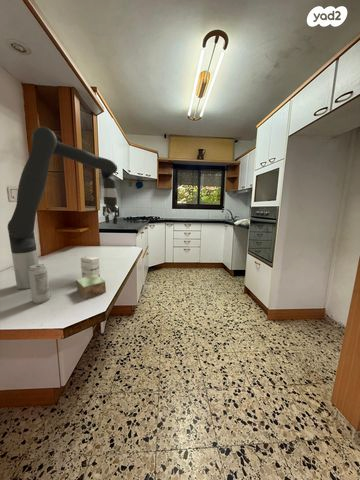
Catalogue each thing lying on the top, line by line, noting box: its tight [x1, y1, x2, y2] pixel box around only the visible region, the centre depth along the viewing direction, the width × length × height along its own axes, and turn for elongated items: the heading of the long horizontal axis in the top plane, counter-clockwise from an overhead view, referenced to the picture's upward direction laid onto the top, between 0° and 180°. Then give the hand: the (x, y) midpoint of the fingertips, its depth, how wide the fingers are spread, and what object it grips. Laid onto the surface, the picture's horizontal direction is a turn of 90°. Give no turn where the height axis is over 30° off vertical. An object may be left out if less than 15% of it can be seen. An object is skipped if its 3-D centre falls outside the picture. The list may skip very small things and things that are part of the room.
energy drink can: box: [28, 263, 51, 304], centre depth 76 cm, size 6×6×15 cm
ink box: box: [80, 255, 101, 278], centre depth 99 cm, size 9×5×12 cm, turn 65°
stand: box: [75, 275, 107, 299], centre depth 86 cm, size 9×11×5 cm
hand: (111, 223), depth 115 cm, fingers open, 8 cm apart
